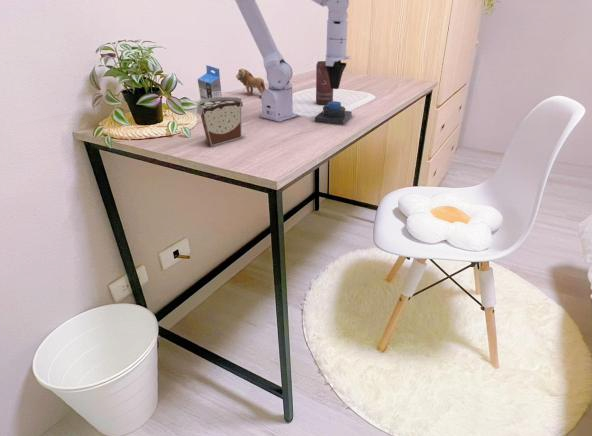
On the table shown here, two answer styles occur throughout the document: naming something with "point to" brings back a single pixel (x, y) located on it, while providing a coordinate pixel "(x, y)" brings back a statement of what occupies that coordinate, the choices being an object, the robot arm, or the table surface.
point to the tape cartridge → (210, 84)
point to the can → (323, 85)
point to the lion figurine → (250, 81)
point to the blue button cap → (334, 105)
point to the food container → (221, 119)
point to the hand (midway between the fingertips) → (334, 88)
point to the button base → (333, 116)
